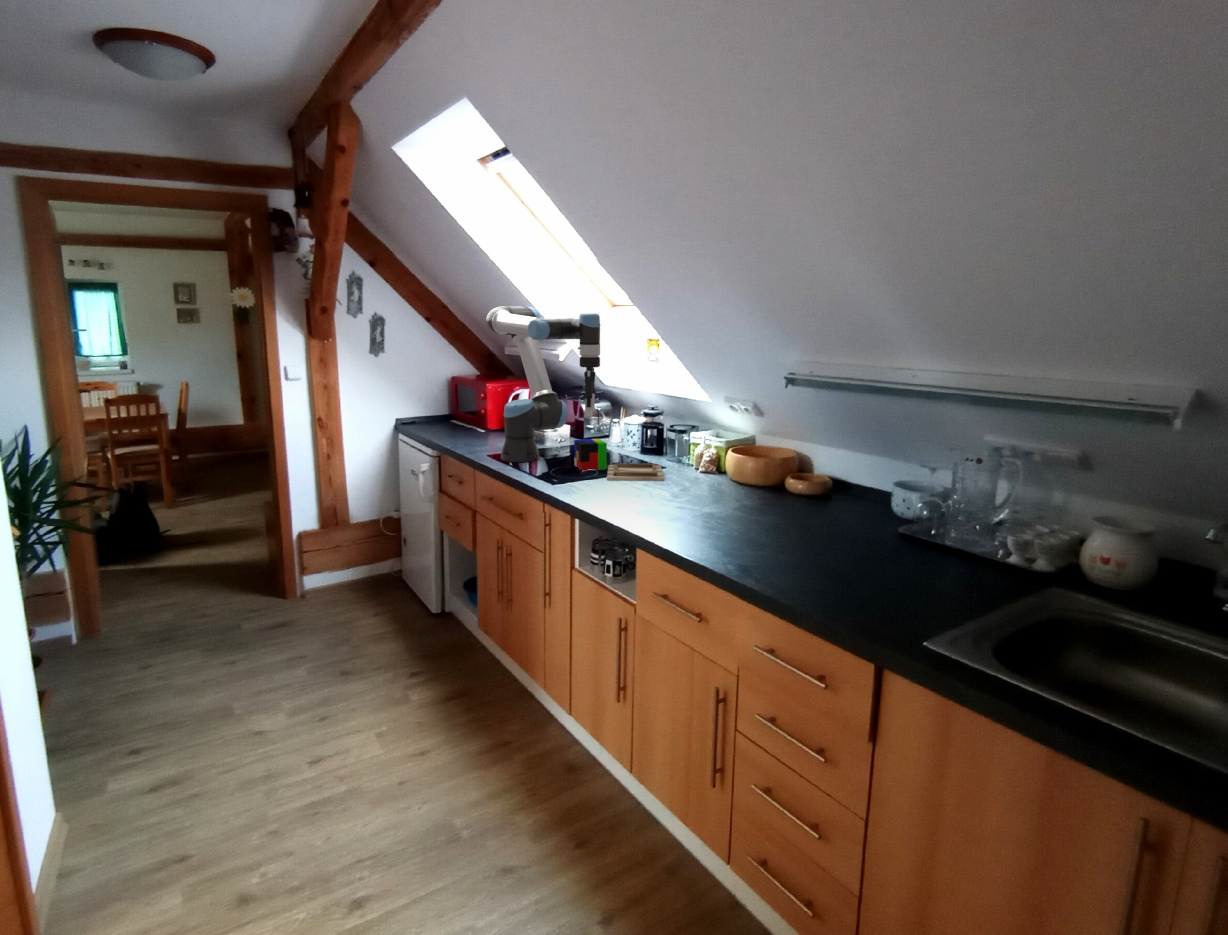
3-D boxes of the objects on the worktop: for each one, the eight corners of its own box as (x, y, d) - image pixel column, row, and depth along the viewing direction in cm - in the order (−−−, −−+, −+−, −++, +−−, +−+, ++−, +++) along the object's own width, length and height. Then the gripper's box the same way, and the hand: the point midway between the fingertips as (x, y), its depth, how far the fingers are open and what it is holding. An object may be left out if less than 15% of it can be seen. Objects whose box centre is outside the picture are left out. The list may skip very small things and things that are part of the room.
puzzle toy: (574, 465, 270) (574, 439, 267) (599, 463, 272) (599, 438, 270) (580, 470, 260) (580, 444, 258) (606, 469, 263) (606, 443, 261)
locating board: (608, 467, 265) (608, 462, 265) (661, 468, 265) (661, 462, 264) (606, 480, 246) (606, 474, 245) (663, 480, 245) (663, 474, 245)
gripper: (582, 354, 269) (582, 408, 274) (577, 358, 245) (577, 418, 250) (601, 354, 269) (601, 408, 274) (598, 358, 245) (598, 418, 249)
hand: (590, 413), depth 262 cm, fingers open, 13 cm apart
